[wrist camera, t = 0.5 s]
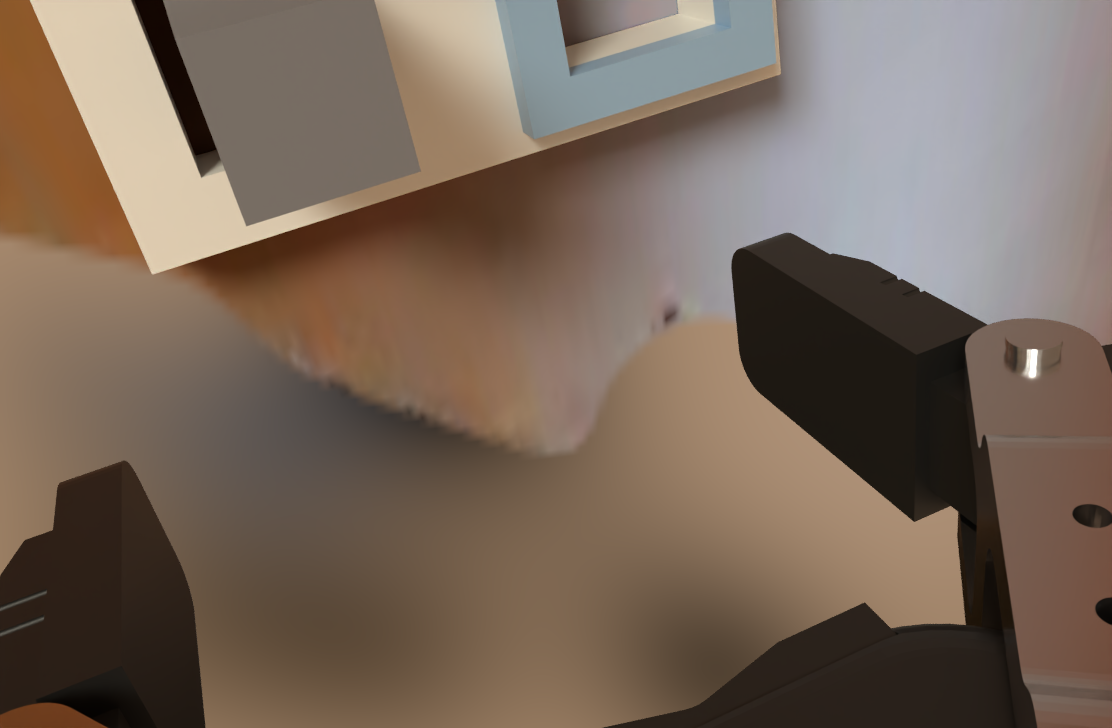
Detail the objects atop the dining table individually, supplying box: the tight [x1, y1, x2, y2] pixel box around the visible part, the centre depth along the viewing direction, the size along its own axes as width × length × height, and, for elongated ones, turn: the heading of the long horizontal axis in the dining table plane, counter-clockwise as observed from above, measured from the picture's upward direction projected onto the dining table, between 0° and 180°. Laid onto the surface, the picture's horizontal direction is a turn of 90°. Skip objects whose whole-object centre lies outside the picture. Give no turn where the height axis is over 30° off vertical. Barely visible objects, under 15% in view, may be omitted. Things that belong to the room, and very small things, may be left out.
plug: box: [163, 0, 421, 226], centre depth 25 cm, size 4×4×10 cm
